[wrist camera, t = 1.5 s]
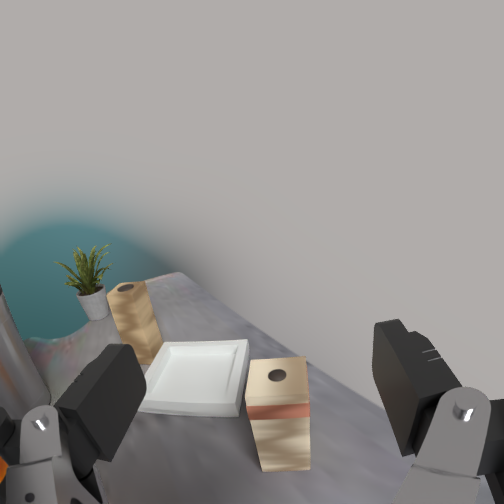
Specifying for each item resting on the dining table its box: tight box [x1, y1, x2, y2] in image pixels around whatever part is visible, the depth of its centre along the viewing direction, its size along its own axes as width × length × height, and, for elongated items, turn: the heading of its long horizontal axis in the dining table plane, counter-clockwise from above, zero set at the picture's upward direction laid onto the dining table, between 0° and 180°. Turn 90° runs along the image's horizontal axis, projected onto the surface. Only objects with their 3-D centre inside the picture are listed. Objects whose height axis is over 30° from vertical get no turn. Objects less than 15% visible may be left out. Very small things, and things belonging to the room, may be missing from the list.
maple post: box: [245, 356, 310, 472], centre depth 23 cm, size 5×5×11 cm
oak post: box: [106, 281, 163, 364], centre depth 43 cm, size 4×4×12 cm
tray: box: [138, 339, 250, 417], centre depth 38 cm, size 13×13×2 cm
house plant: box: [56, 244, 111, 321], centre depth 59 cm, size 14×14×16 cm
